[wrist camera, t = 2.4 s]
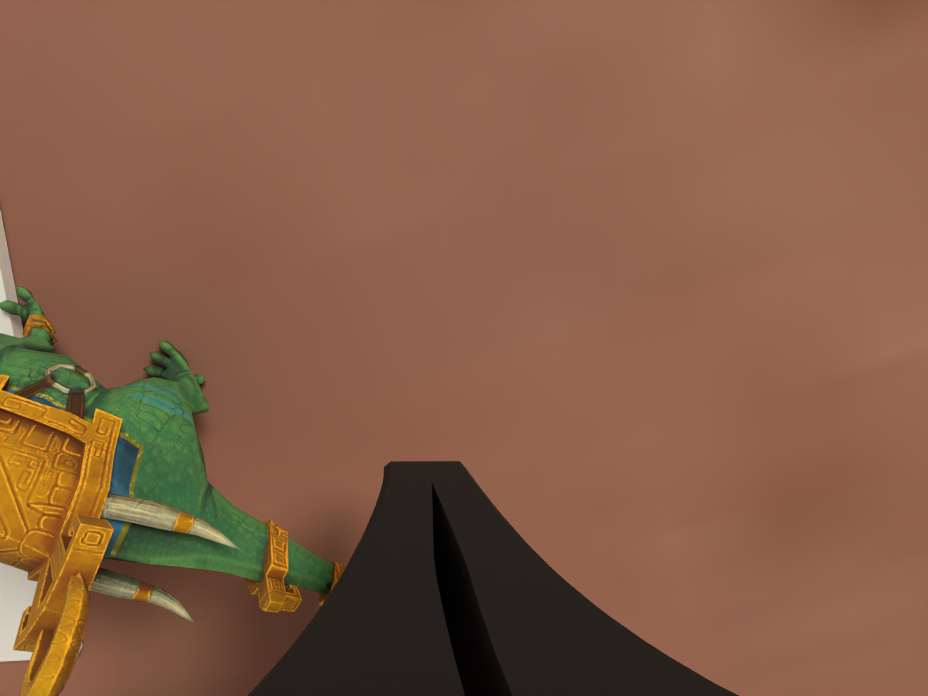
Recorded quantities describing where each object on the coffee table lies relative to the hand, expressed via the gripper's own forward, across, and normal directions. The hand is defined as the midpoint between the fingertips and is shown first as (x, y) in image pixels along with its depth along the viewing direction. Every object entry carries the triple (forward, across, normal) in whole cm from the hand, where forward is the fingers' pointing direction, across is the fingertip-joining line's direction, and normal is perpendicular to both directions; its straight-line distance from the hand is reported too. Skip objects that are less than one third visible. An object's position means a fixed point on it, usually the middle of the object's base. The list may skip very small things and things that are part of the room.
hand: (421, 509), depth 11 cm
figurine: (+5, +6, 0) cm, 8 cm away
